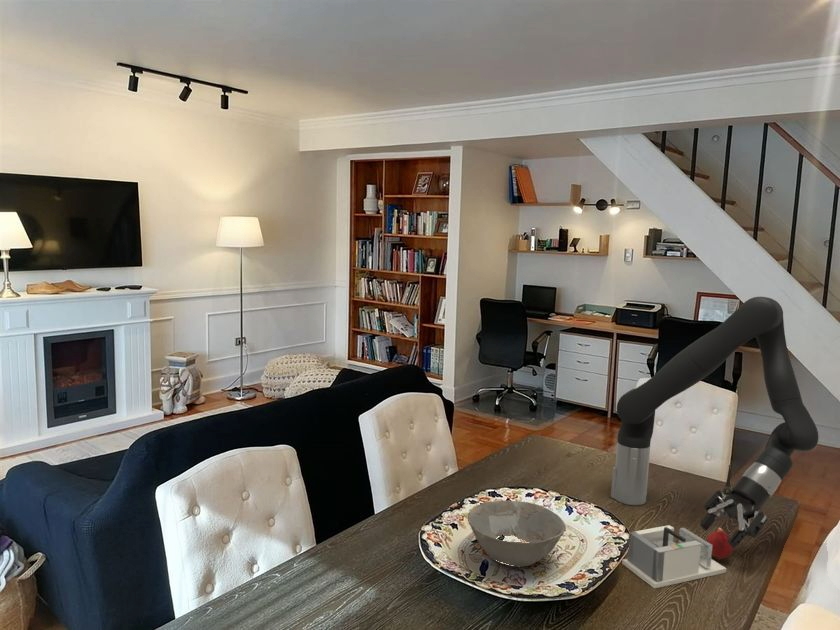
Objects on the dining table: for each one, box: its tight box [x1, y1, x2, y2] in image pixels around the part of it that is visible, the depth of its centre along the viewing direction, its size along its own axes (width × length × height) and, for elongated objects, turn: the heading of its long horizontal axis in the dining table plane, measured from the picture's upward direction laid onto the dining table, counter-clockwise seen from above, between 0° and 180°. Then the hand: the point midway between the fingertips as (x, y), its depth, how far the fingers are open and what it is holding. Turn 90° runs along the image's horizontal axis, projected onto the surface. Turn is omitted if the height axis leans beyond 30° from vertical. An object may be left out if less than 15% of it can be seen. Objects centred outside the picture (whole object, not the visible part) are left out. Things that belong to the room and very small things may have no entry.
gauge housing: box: [621, 524, 727, 590], centre depth 147 cm, size 21×11×8 cm, turn 111°
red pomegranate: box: [706, 527, 734, 560], centre depth 151 cm, size 6×6×8 cm
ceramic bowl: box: [467, 499, 567, 567], centre depth 149 cm, size 22×23×10 cm
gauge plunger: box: [652, 527, 713, 568], centre depth 146 cm, size 11×10×9 cm
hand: (716, 536), depth 151 cm, fingers open, 8 cm apart
